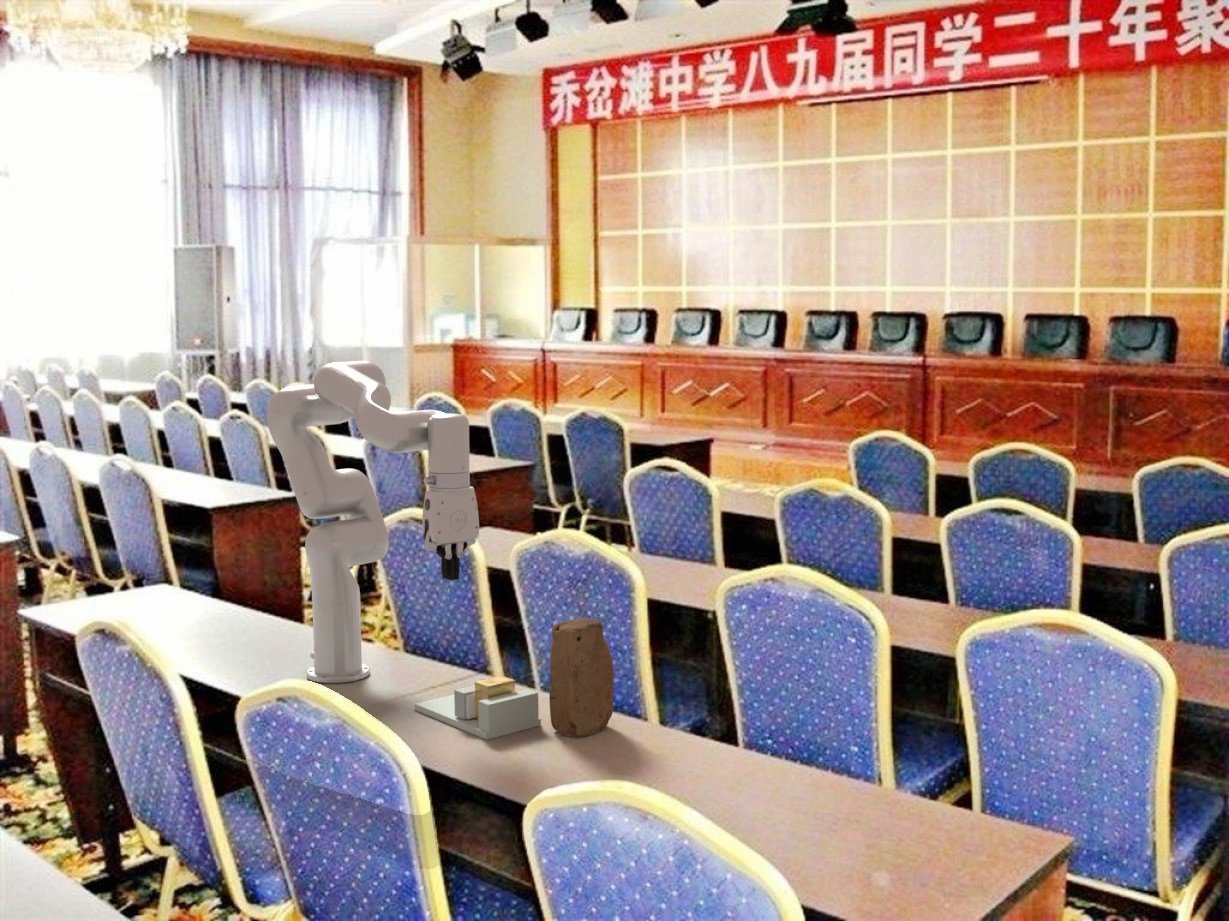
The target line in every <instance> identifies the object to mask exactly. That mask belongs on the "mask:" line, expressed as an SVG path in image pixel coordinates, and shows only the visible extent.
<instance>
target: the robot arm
mask: <svg viewBox="0 0 1229 921" xmlns="http://www.w3.org/2000/svg"><path fill="white" fill-rule="evenodd" d="M312 381H313V383H312V384H301V385H294V386H293V385H291V386H288V387H285V388H282V389H280V390H277V391H276V392H275V393H274V394H273V395H272V396H271V397H270V399H269V401H268V405H267V410H266V421H267V427H268V430H269V433H270V435H271V438H272V440H273V442H274V444H275V446H276V448H277V449H278V451H279V452H280V454H281V457H282V459H283V461H284V462H283V463H284V464H285V468H286V471H287V475H288V477H289V480H290V483H291V486H292V490H293V492H294V494H295V498H296V501H297V504H298V506H299V509H300V511H301V513H302V514H303V515H304V516H305V517H306V518H308V519H313V520H317V519H318V520H320V519H329V518H335V517H342V516H345V517H346V519H342V520H336V521H329V522H325V523H322V524H320V525H317V526H314V528H312V529H311V530H310V532H308V534H307V536H306V538H305V544H304V546H305V547H304V548H305V550H304V551H305V556H306V559H307V565H308V569H309V574H310V583H311V602H312V604H311V605H312V632H313V633H312V634H313V651H312V652H311V653H310V655H309V656H310V658H311V659H312V660H313V666H312V667H309V668H308V669H307V670H306V678H307V679H308V680H310V681H312V682H315V681H316V682H315V683H320V684H321V683H323V684H342V683H343V684H344V683H350V682H356V681H359V680H362V679H364V678H367V677H368V676H369V675H370V673H371V668H370V667H369V666H368V664H366V663H363V662H362V661H363V660H362V659H363V657H362V621H361V620H362V615H361V614H362V613H361V592H360V586H359V584H358V582H357V580H356V578H355V576H354V574H352V571H351V569H350V568H352V567H355V566H360V565H365V564H371V563H375V562H378V561H380V560H381V559H383V558H384V557H385V556H386V554H387V553H388V550H389V546H390V540H389V539H390V538H389V533H388V532H389V531H388V528H387V526H386V522H385V520H384V517H383V514H382V511H381V507H380V505H379V502H378V498H377V495H376V493H375V490H374V488H373V485H372V483H371V481H370V479H369V478H368V477H367V476H366V474H364V473H363V472H362V471H360V470H359V469H355V468H340V469H334V468H333V467H332V466H331V463H330V461H329V458H328V454H327V452H326V449H325V447H324V446H323V444H322V443H321V442H320V441H319V439H318V438H317V437H315V436H314V435H313V434H312V433H310V431H309V430H308V427H319V426H320V427H321V426H330V425H340V424H342V423H346V422H349V421H350V420H352V419H354V420H355V423H356V426H357V429H358V431H359V433H360V436H362V438H363V439H364V440H365V441H367V442H368V443H370V444H371V445H373V446H375V447H376V448H379V449H380V450H383V451H385V452H388V453H390V454H402V453H403V454H404V453H410V452H411V453H412V452H413V453H414V452H419V451H420V452H421V451H427V452H428V454H427V461H428V464H427V465H428V469H427V470H428V473H427V476H425V477H424V478H423V484H424V485H427V486H428V488H427V489H426V490H425V493H424V501H423V506H422V522H421V523H422V524H421V528H422V529H421V530H422V533H421V534H422V539H423V540H424V545H423V549H424V550H426V551H429V552H435V553H436V554H437V555H438V557H439V558H441V560H440V562H441V563H440V564H441V567H440V568H441V570H440V571H441V572H440V573H441V576H442V578H443V579H444V580H448V581H454V580H455V581H457V580H459V579H460V573H461V572H460V568H461V567H460V566H461V565H460V559H461V558H462V557H463V552H465V550H466V549H467V548H468V547H471V546H473V545H475V544H476V542H477V540H476V539H477V538H479V536H480V520H479V510H478V508H479V507H478V501H477V496H476V492H475V488H474V487H473V486H471V485H470V484H471V481H470V480H471V478H470V476H471V474H470V473H471V472H470V422H469V419H468V417H467V416H466V415H464V414H461V413H449V412H448V413H446V412H443V411H440V410H436V409H424V410H423V409H422V410H410V411H409V410H408V411H398V412H393V411H391V410H390V407H391V403H392V396H391V395H392V394H391V392H390V390H389V388H388V387H387V386H386V385H387V384H386V377H385V374H384V372H383V370H382V369H381V368H380V367H379V365H377V364H376V363H374V362H372V361H368V360H358V361H357V360H355V361H337V362H331V363H327V364H325V365H323V366H322V367H320V368H319V369H318V370H317V372H316V373H315V375H314V377H313V380H312ZM389 410H390V411H389Z"/></svg>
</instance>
